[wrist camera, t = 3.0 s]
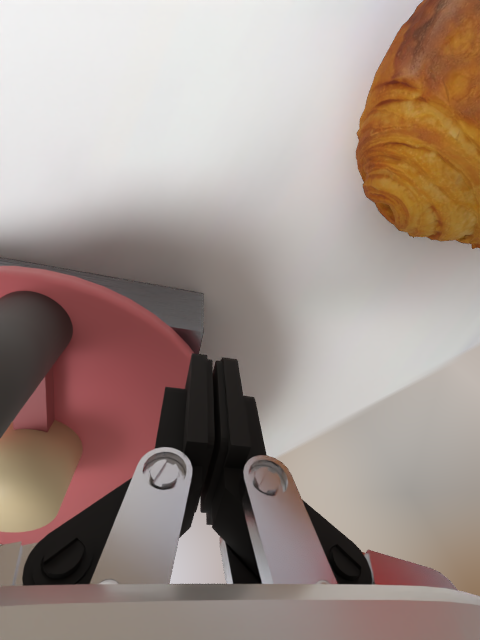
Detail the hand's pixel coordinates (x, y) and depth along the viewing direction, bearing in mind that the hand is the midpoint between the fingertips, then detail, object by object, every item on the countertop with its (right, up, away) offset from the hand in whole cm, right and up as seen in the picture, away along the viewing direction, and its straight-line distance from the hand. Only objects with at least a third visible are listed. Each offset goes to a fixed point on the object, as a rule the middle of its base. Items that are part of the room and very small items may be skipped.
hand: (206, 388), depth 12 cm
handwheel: (-9, -3, +5) cm, 11 cm away
